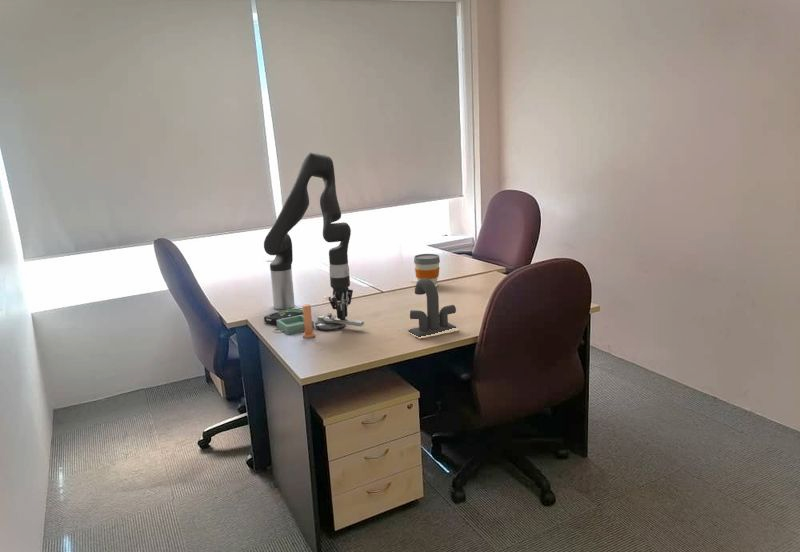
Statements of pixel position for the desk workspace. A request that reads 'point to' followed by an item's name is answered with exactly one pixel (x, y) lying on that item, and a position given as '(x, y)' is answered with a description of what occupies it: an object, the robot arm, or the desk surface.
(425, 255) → the reusable coffee cup
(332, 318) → the crank
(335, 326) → the crank base
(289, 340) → the desk surface
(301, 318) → the tray
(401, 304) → the desk surface
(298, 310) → the disk drive
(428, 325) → the faucet
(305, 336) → the stop peg
